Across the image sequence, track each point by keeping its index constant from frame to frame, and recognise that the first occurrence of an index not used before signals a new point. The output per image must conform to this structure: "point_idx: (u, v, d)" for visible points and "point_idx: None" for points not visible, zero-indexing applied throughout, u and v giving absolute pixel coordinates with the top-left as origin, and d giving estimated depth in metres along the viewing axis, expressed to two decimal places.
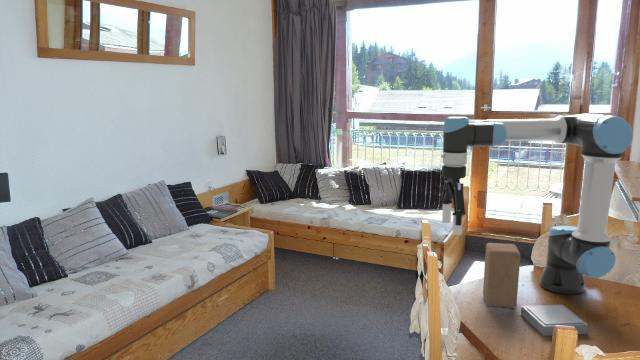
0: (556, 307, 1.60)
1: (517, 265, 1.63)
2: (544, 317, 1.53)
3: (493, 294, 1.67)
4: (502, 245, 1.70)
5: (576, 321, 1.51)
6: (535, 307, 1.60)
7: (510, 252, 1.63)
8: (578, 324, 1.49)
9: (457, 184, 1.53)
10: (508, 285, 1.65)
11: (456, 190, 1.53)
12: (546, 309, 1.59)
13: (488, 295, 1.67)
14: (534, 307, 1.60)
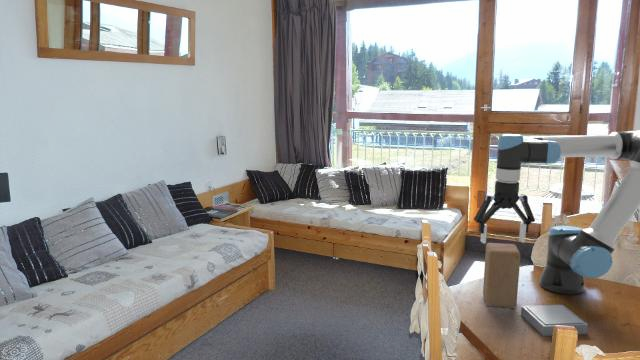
0: (556, 307, 1.60)
1: (517, 265, 1.63)
2: (544, 317, 1.53)
3: (493, 294, 1.67)
4: (502, 245, 1.70)
5: (576, 321, 1.51)
6: (535, 307, 1.60)
7: (510, 252, 1.63)
8: (578, 324, 1.49)
9: (486, 195, 1.65)
10: (508, 285, 1.65)
11: (484, 200, 1.65)
12: (546, 309, 1.59)
13: (488, 295, 1.67)
14: (534, 307, 1.60)
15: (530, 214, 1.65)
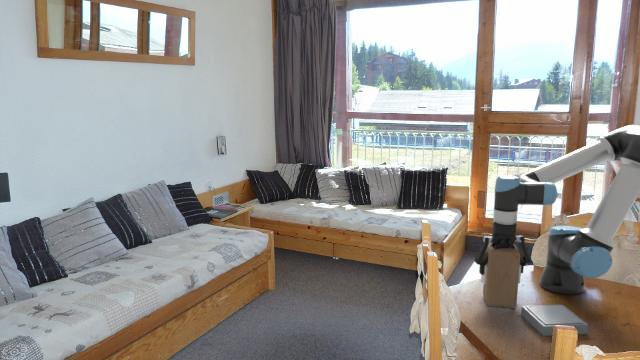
0: (556, 307, 1.60)
1: (517, 265, 1.63)
2: (544, 317, 1.53)
3: (493, 294, 1.67)
4: None
5: (576, 321, 1.51)
6: (535, 307, 1.60)
7: (510, 252, 1.63)
8: (578, 324, 1.49)
9: (484, 237, 1.67)
10: (508, 285, 1.65)
11: (482, 242, 1.68)
12: (546, 309, 1.59)
13: (488, 295, 1.67)
14: (534, 307, 1.60)
15: (525, 255, 1.68)
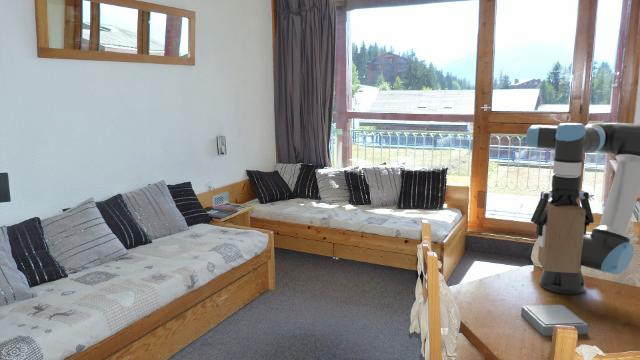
0: (556, 307, 1.60)
1: (582, 224, 1.44)
2: (544, 317, 1.53)
3: (554, 258, 1.47)
4: None
5: (576, 321, 1.51)
6: (535, 307, 1.60)
7: (574, 209, 1.44)
8: (578, 324, 1.49)
9: (542, 193, 1.48)
10: (570, 247, 1.46)
11: (540, 198, 1.49)
12: (546, 309, 1.59)
13: (547, 259, 1.48)
14: (534, 307, 1.60)
15: (589, 214, 1.49)
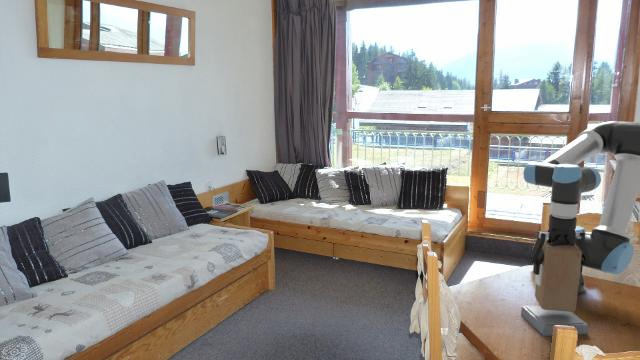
0: None
1: (578, 264, 1.46)
2: (544, 317, 1.53)
3: (550, 297, 1.49)
4: None
5: (576, 321, 1.51)
6: (535, 307, 1.60)
7: (571, 249, 1.46)
8: (578, 324, 1.49)
9: (539, 232, 1.50)
10: (567, 286, 1.48)
11: (537, 238, 1.51)
12: None
13: (544, 297, 1.50)
14: (534, 307, 1.60)
15: (585, 253, 1.51)
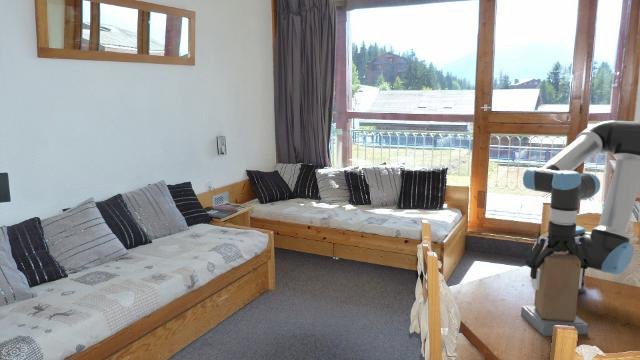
0: None
1: (577, 274, 1.47)
2: None
3: (550, 306, 1.50)
4: (558, 252, 1.53)
5: (576, 321, 1.51)
6: (535, 307, 1.60)
7: (570, 260, 1.47)
8: (578, 324, 1.49)
9: (539, 237, 1.51)
10: (566, 296, 1.49)
11: (536, 243, 1.51)
12: None
13: (544, 307, 1.51)
14: (534, 307, 1.60)
15: (587, 257, 1.51)
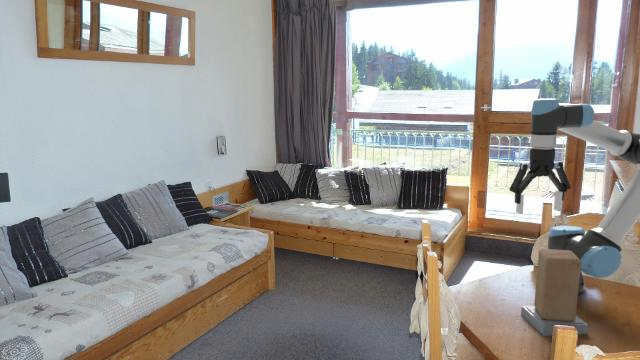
0: None
1: (577, 274, 1.47)
2: None
3: (550, 306, 1.50)
4: (558, 252, 1.53)
5: (576, 321, 1.51)
6: (535, 307, 1.60)
7: (570, 260, 1.47)
8: (578, 324, 1.49)
9: (521, 164, 1.58)
10: (566, 296, 1.49)
11: (519, 169, 1.59)
12: None
13: (544, 307, 1.51)
14: (534, 307, 1.60)
15: (566, 181, 1.60)
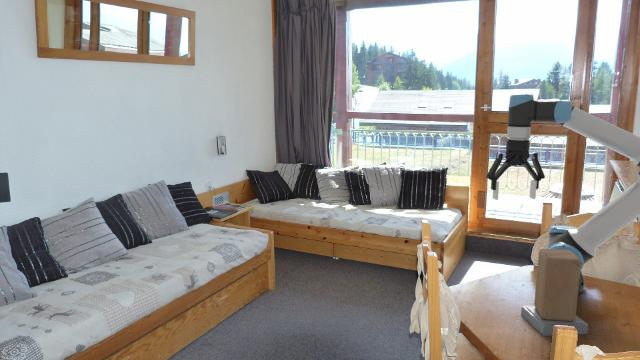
0: None
1: (577, 274, 1.47)
2: None
3: (550, 306, 1.50)
4: (558, 252, 1.53)
5: (576, 321, 1.51)
6: (535, 307, 1.60)
7: (570, 259, 1.47)
8: (578, 324, 1.49)
9: (498, 153, 1.72)
10: (566, 296, 1.49)
11: (496, 158, 1.72)
12: None
13: (544, 307, 1.51)
14: (534, 307, 1.60)
15: (540, 171, 1.72)
